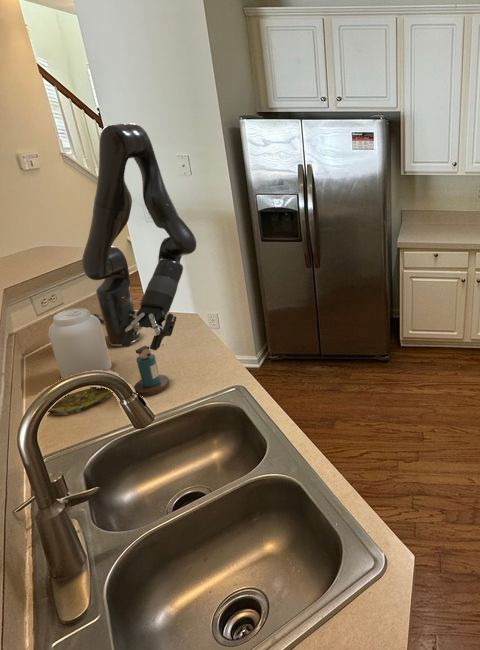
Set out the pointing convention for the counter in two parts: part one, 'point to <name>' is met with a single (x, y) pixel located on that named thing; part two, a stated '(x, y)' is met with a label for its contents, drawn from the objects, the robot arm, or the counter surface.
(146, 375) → the teal pump bottle
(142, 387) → the stand
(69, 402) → the mottled olive oval disc
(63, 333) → the white plastic jar
